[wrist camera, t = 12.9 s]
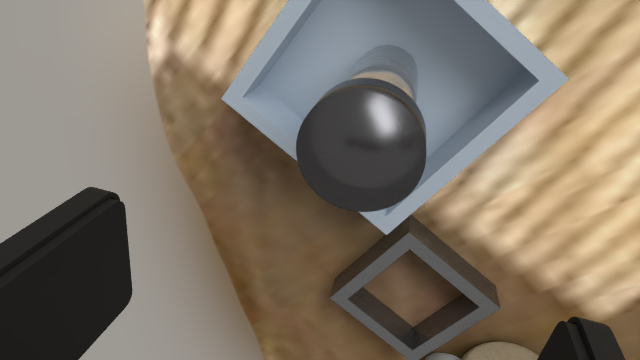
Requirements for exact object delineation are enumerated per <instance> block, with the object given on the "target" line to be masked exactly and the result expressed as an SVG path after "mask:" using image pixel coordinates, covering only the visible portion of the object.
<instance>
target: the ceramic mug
mask: <svg viewBox="0 0 640 360" xmlns="http://www.w3.org/2000/svg"><path fill="white" fill-rule="evenodd" d="M538 357H539V356H538V355H537V354H536V353H534V352H533V351H531V350H529V349H527V348H525V347H523V346H520V345H518V344H515V343H509V342H501V341H495V342H487V343H483V344H480V345H477V346H475V347H473V348H471V349H470V350H469V351H467V352H466V353H465V354H464V356H463V357H462V358H459V357H457V356H455V355H452V354H448V353H439V352H437V353H432V354H430V355H428V356H427V357H426V359H425V360H537V359H538Z"/></svg>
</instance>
